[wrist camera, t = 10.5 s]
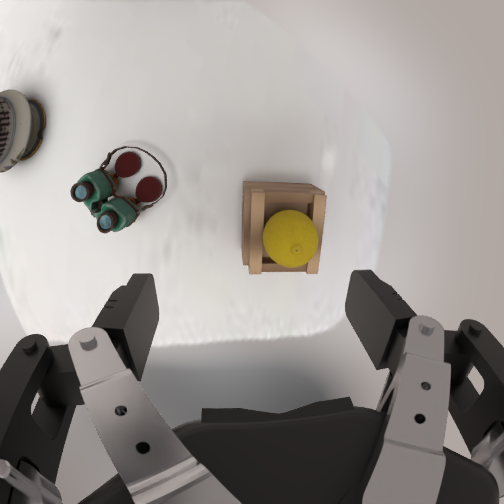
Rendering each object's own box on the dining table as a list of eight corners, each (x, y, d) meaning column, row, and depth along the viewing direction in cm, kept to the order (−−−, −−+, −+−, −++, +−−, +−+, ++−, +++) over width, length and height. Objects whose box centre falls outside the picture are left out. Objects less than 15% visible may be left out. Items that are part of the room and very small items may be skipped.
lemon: (317, 218, 32) (338, 238, 24) (293, 258, 33) (306, 289, 26) (276, 194, 31) (285, 208, 23) (251, 237, 32) (253, 263, 25)
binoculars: (170, 189, 26) (103, 253, 27) (180, 181, 36) (128, 229, 37) (115, 124, 23) (52, 193, 24) (139, 133, 33) (89, 183, 34)
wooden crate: (243, 181, 36) (246, 192, 28) (311, 184, 37) (331, 195, 29) (241, 247, 39) (243, 274, 31) (305, 247, 40) (322, 273, 32)
